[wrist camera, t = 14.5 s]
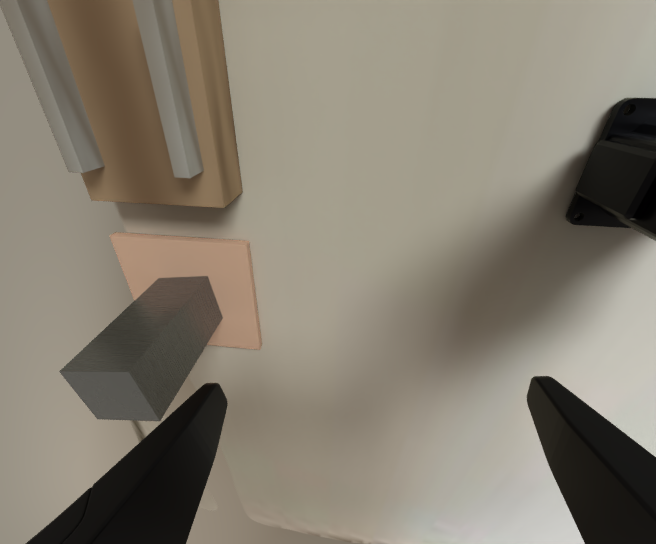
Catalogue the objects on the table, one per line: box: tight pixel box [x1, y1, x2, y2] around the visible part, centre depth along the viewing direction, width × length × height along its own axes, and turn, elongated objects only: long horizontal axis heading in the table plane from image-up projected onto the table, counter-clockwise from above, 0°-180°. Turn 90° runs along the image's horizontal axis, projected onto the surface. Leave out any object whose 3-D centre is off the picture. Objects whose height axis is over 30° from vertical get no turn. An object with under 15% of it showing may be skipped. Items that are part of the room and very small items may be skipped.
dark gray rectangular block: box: [60, 276, 223, 421], centre depth 20 cm, size 5×4×9 cm
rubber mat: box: [110, 232, 262, 350], centre depth 24 cm, size 10×10×1 cm
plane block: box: [0, 0, 243, 208], centre depth 15 cm, size 8×11×4 cm
